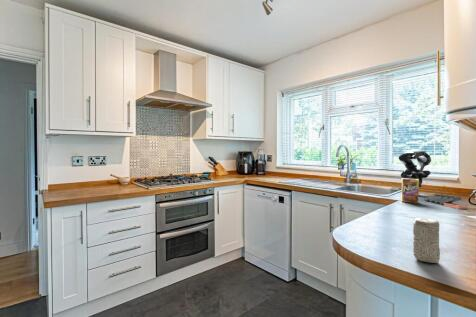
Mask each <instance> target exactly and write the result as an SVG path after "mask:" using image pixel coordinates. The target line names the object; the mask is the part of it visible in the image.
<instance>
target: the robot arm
mask: <svg viewBox="0 0 476 317" xmlns="http://www.w3.org/2000/svg"><path fill="white" fill-rule="evenodd" d="M398 160H399V161H400V162H401V164H403V166H404V167H405V168H406V169H405V170H403V171H402V172H401V173H400V177H401V179H402V178H406V179H419V188H422V184H423V179H426V178H428V177H429V176H430V175H431V171H430V170H424V169H425V167H427V166H429V165H430V164H431V162H432V158H431V155H430V154H429V153H427V152H426V151H425V150H416V151H405V152H403V153H402V154H400V155H399V157H398ZM413 160H416V161H417V165H416V164H415V163H414V162H413ZM418 196H420V194H419V193H418Z"/></svg>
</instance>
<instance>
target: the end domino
mask: <svg viewBox="0 0 476 317" xmlns="http://www.w3.org/2000/svg"><path fill="white" fill-rule="evenodd" d="M443 206H445V207H449V208H453V209H457V210H467V209H468V206H467V205H463V204H458V203H456V202H453V203H444V204H443Z"/></svg>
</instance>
